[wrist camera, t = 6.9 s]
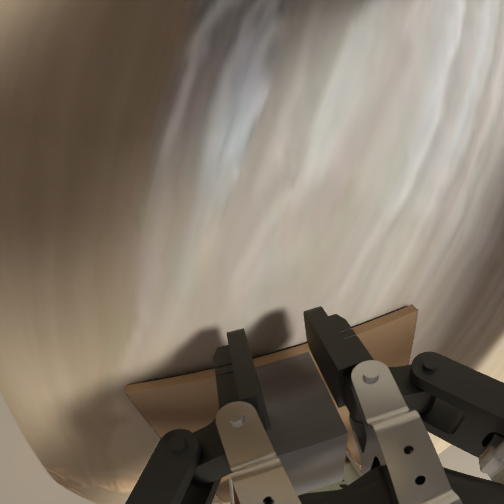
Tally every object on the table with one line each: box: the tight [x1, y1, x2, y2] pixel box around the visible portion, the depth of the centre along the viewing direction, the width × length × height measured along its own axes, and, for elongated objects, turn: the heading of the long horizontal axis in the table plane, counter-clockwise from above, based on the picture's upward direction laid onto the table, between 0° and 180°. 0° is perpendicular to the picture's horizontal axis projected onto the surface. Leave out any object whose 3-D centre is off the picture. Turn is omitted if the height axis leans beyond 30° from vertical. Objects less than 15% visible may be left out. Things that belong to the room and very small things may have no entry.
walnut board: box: [126, 305, 418, 502], centre depth 16 cm, size 19×16×6 cm
